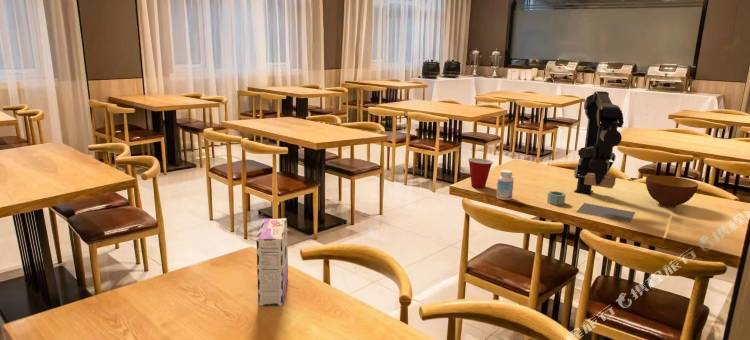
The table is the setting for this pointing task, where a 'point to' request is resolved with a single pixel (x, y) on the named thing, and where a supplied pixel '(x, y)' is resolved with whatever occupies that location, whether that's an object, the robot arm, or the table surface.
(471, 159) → the plastic cup
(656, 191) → the bowl
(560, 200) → the ramekin
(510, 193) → the pill bottle
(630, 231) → the table surface
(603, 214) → the mat
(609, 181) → the lid
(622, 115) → the robot arm
